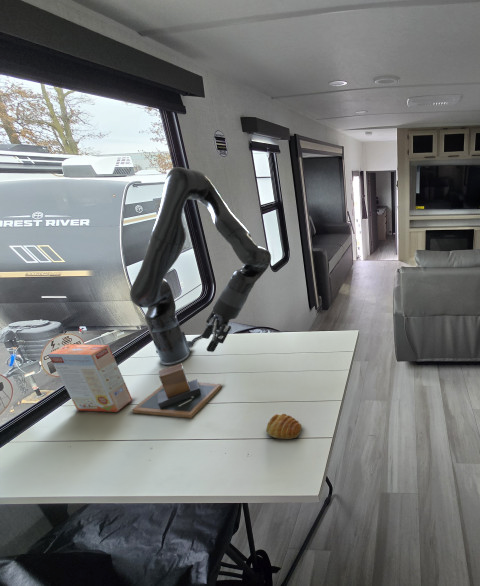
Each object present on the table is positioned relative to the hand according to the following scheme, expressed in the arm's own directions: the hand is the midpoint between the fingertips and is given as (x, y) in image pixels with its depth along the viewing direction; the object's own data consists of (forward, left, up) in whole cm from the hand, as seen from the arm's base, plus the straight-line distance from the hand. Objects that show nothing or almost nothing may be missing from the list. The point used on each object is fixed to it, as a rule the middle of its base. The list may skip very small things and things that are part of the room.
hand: (207, 344), depth 100 cm
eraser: (+8, -8, -15) cm, 18 cm away
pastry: (+17, +32, -16) cm, 39 cm away
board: (+9, -8, -16) cm, 20 cm away
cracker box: (+14, -30, -16) cm, 37 cm away
